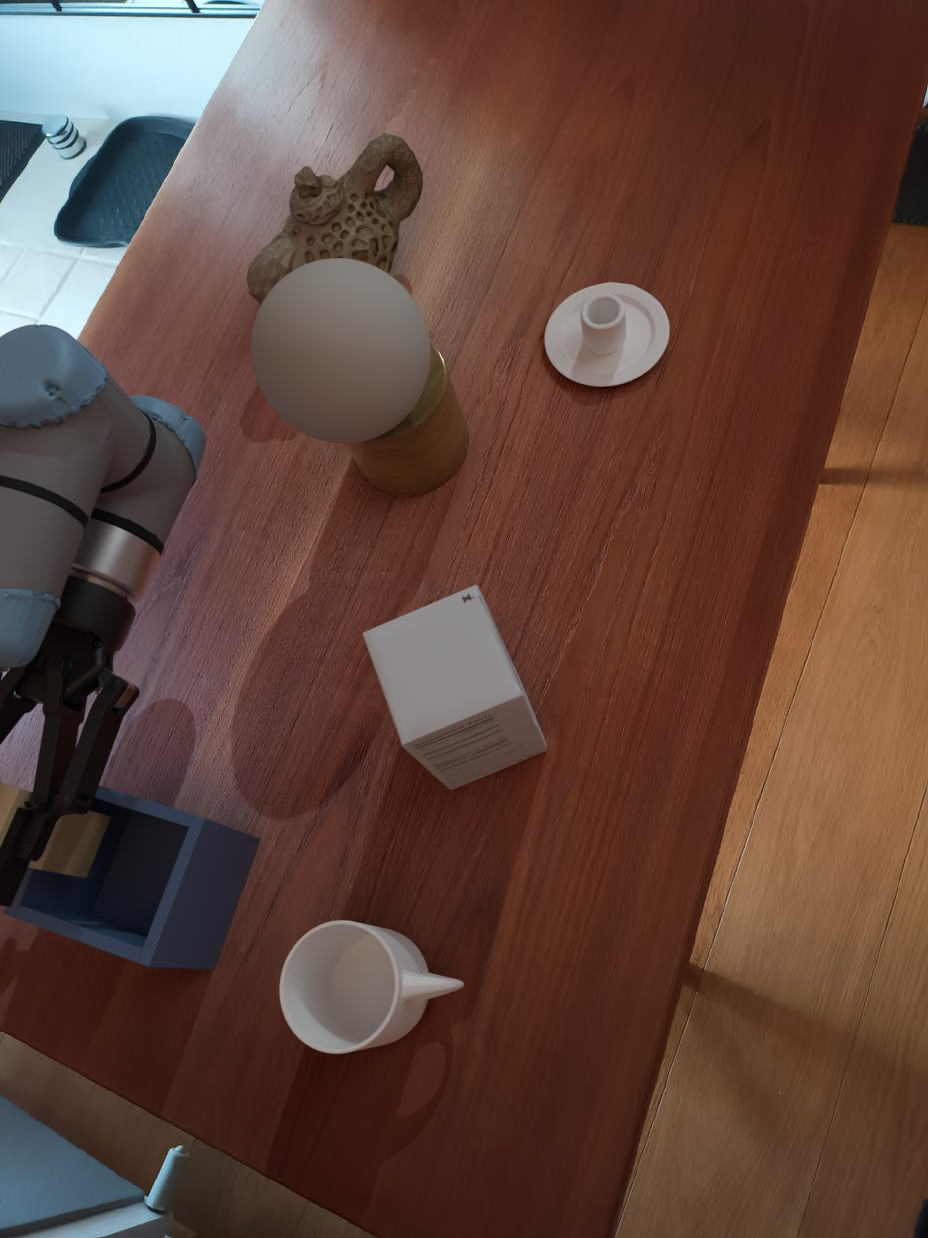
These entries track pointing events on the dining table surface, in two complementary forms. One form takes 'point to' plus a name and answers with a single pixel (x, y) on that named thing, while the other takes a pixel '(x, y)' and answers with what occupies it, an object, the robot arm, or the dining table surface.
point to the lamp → (360, 373)
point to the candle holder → (607, 334)
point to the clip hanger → (59, 835)
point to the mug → (356, 987)
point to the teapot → (343, 215)
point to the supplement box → (454, 690)
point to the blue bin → (146, 886)
